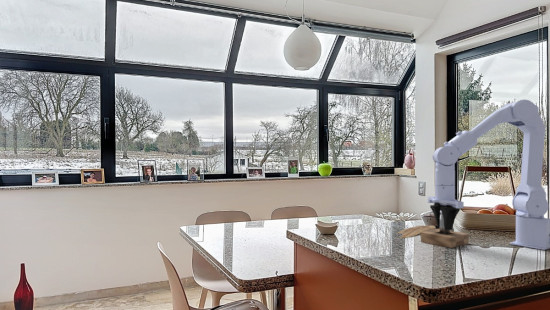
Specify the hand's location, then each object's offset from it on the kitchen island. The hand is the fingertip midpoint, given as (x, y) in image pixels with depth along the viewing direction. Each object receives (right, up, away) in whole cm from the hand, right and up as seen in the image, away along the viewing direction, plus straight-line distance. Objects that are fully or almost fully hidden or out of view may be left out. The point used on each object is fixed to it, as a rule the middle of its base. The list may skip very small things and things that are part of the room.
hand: (444, 228), depth 125 cm
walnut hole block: (0, -4, 0) cm, 4 cm away
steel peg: (0, -3, 0) cm, 3 cm away
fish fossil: (-4, -5, +17) cm, 18 cm away
